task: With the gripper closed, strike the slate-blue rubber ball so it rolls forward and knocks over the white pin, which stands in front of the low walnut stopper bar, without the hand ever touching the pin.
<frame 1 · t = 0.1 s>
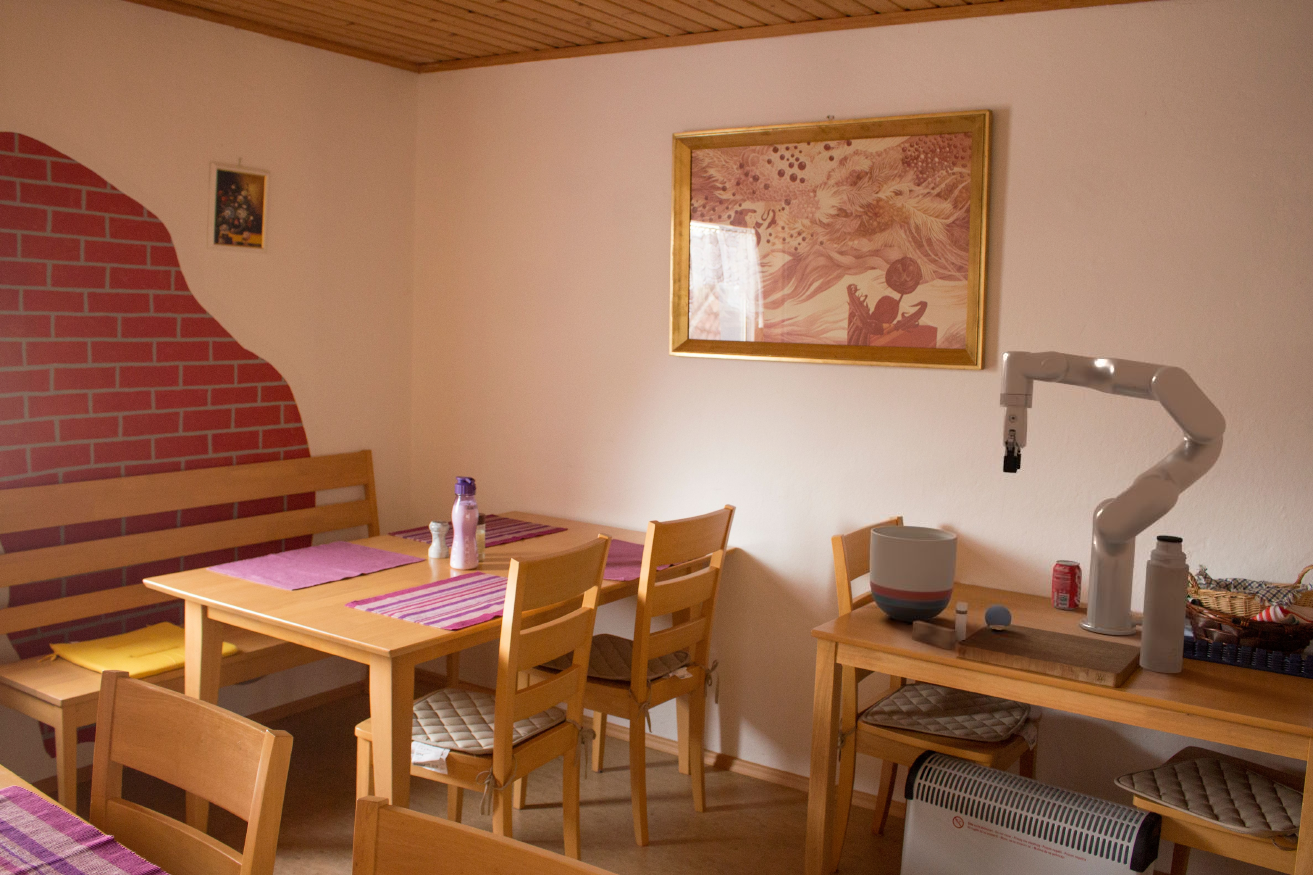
hand: (1011, 470, 252), 37 cm above the table, tool pointing down, fingers open, 9 cm apart
thermos bottle: (1160, 668, 215), on the table
ball: (998, 617, 241), on the table
stopper bar: (933, 643, 228), on the table
planter: (909, 620, 249), on the table
pin: (960, 639, 232), on the table
soda can: (1065, 608, 266), on the table
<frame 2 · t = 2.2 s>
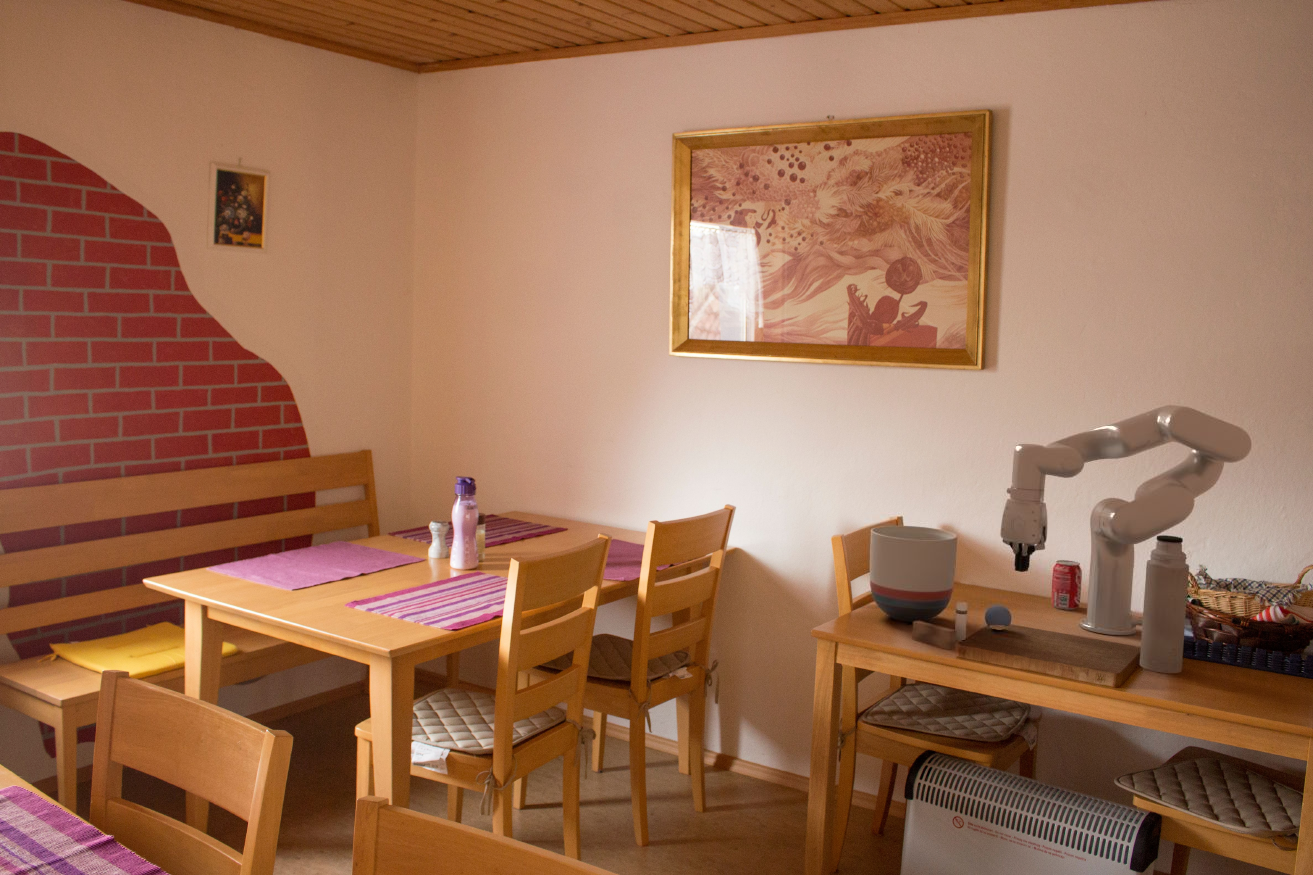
hand: (1021, 570, 246), 13 cm above the table, tool pointing down, fingers closed
nothing on the table moved.
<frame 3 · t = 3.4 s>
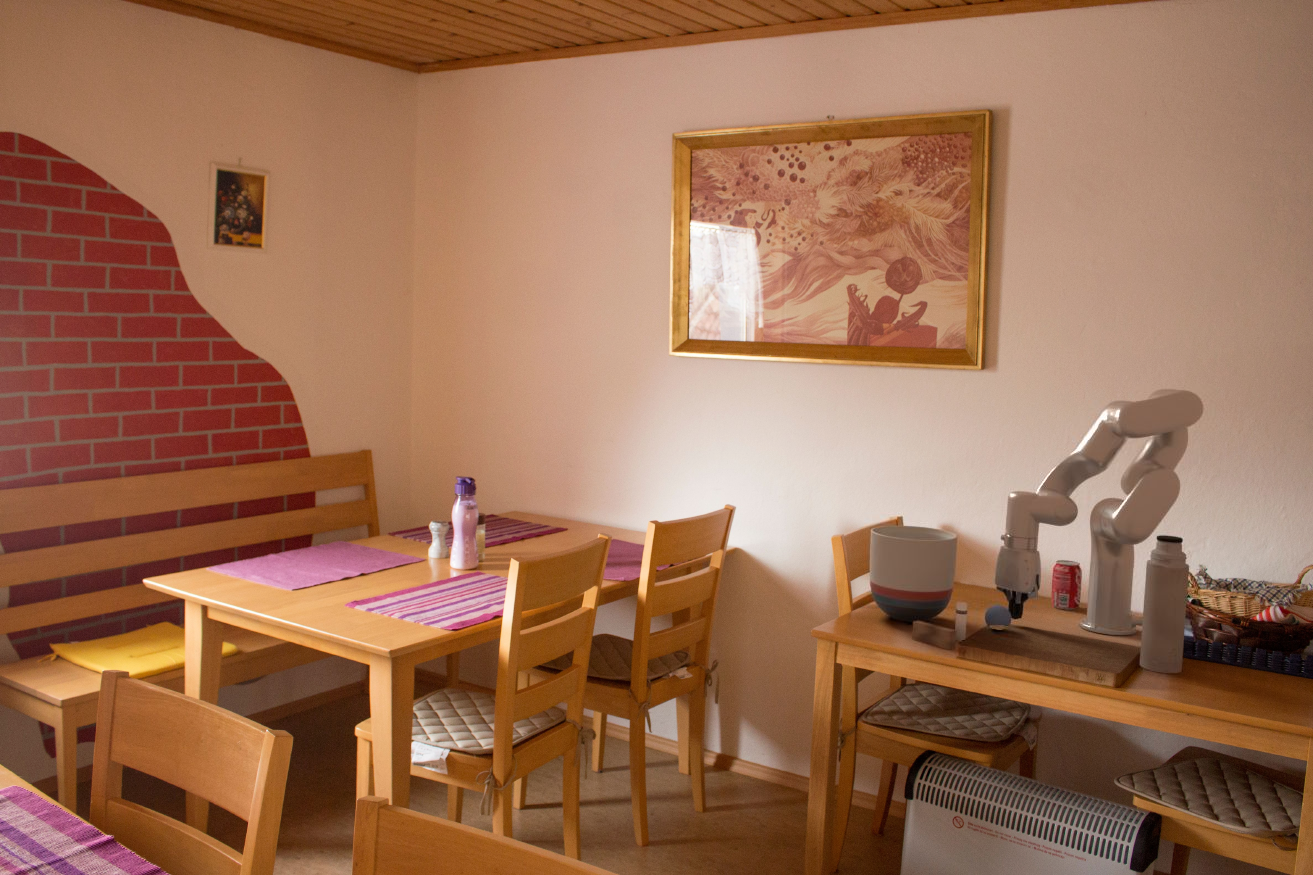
hand: (1014, 617, 247), 2 cm above the table, tool pointing down, fingers closed
nothing on the table moved.
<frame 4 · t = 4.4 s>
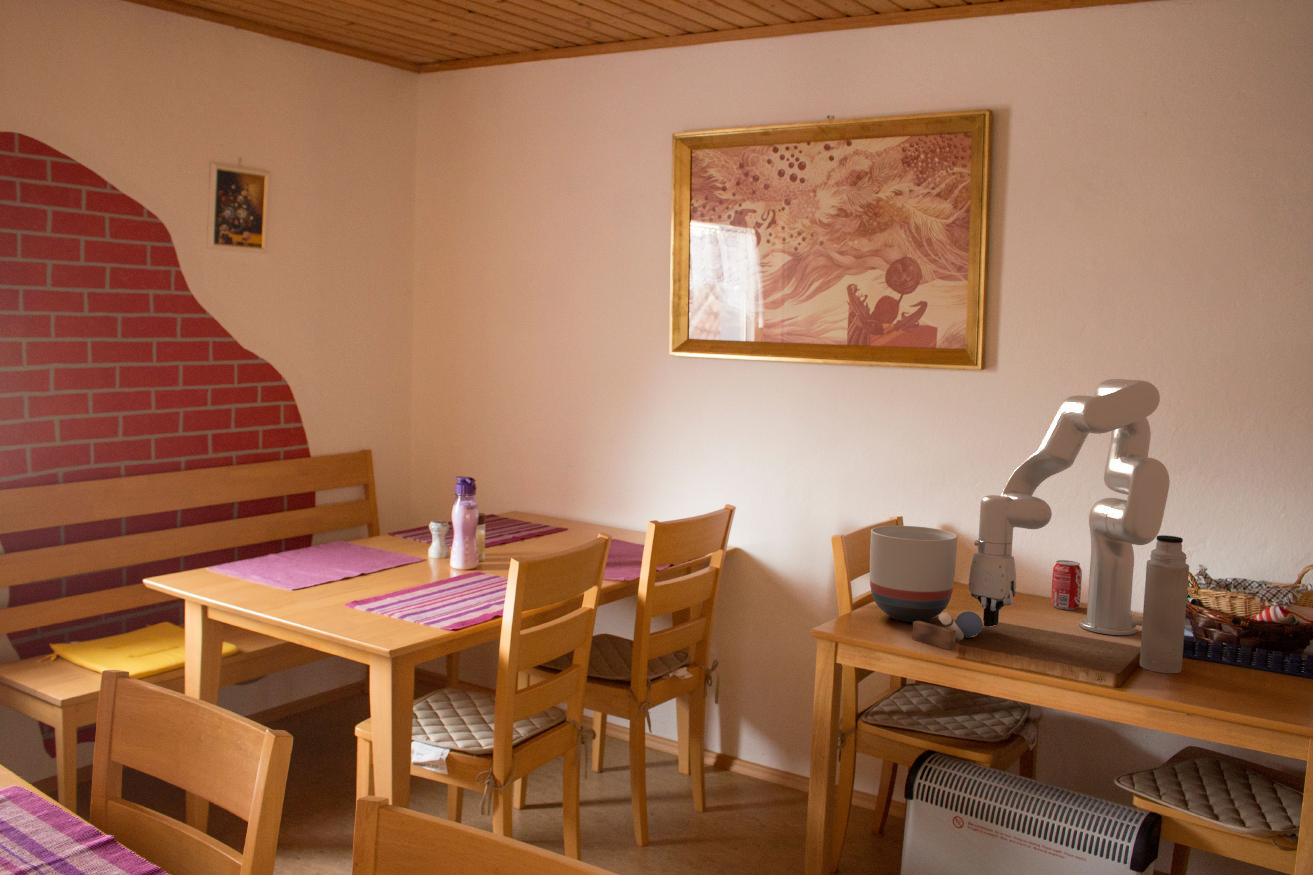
hand: (990, 625, 240), 2 cm above the table, tool pointing down, fingers closed
ball: (969, 624, 234), on the table
pin: (959, 635, 232), point 1 cm above the table, tilted 50°
everything else where it was.
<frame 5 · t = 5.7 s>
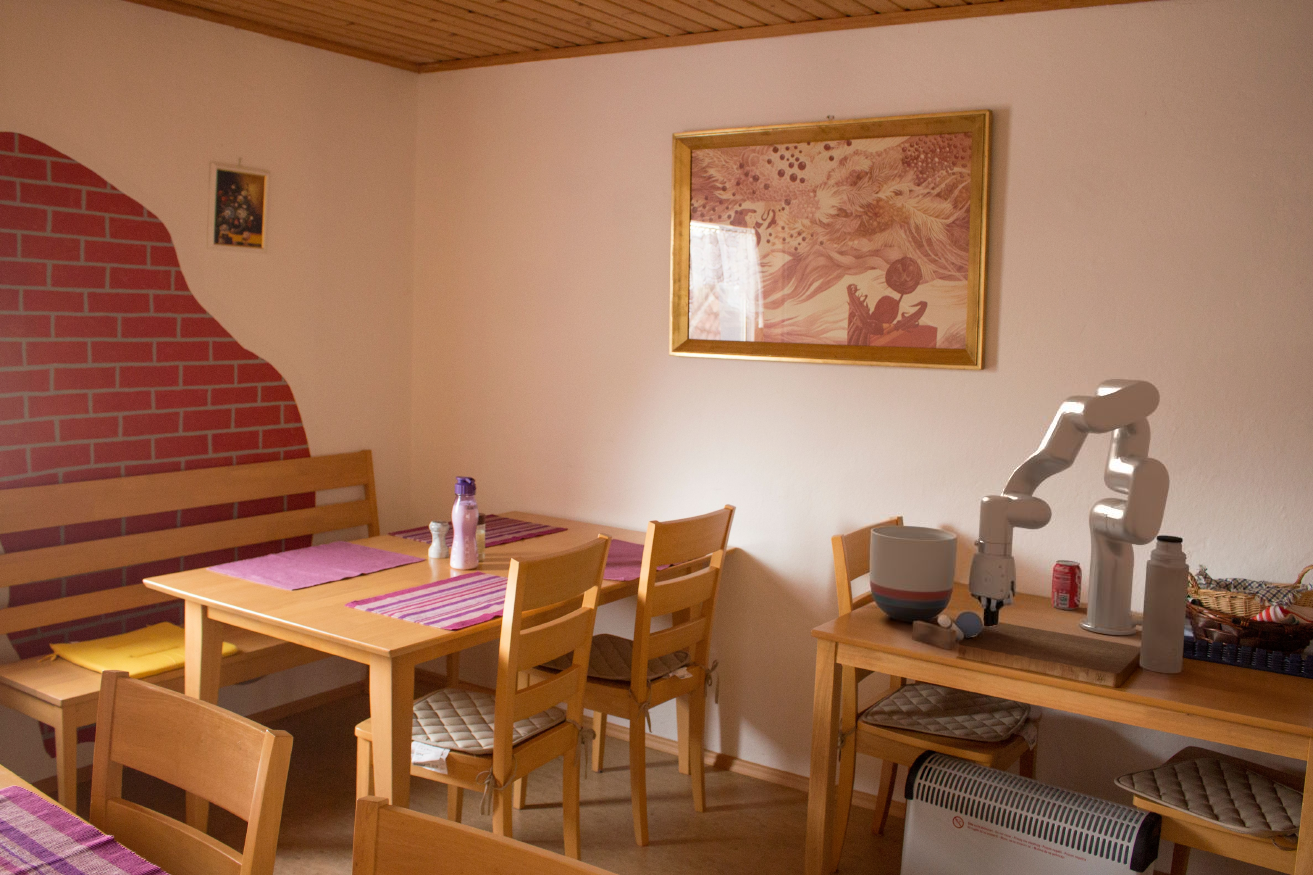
hand: (990, 625, 240), 2 cm above the table, tool pointing down, fingers closed
pin: (958, 635, 232), point 1 cm above the table, tilted 56°, touching stopper bar
everything else where it was.
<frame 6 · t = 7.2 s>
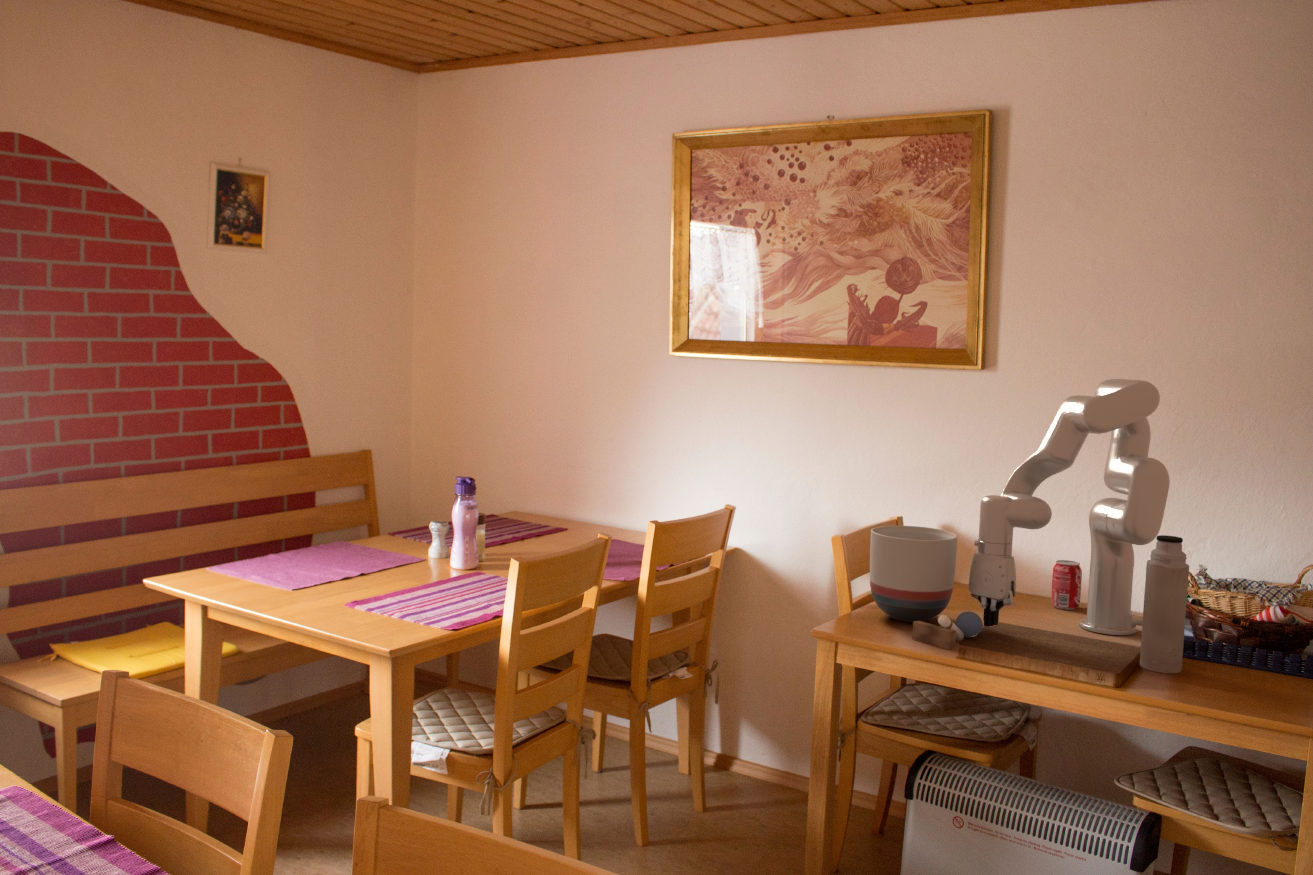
hand: (990, 625, 240), 2 cm above the table, tool pointing down, fingers closed
nothing on the table moved.
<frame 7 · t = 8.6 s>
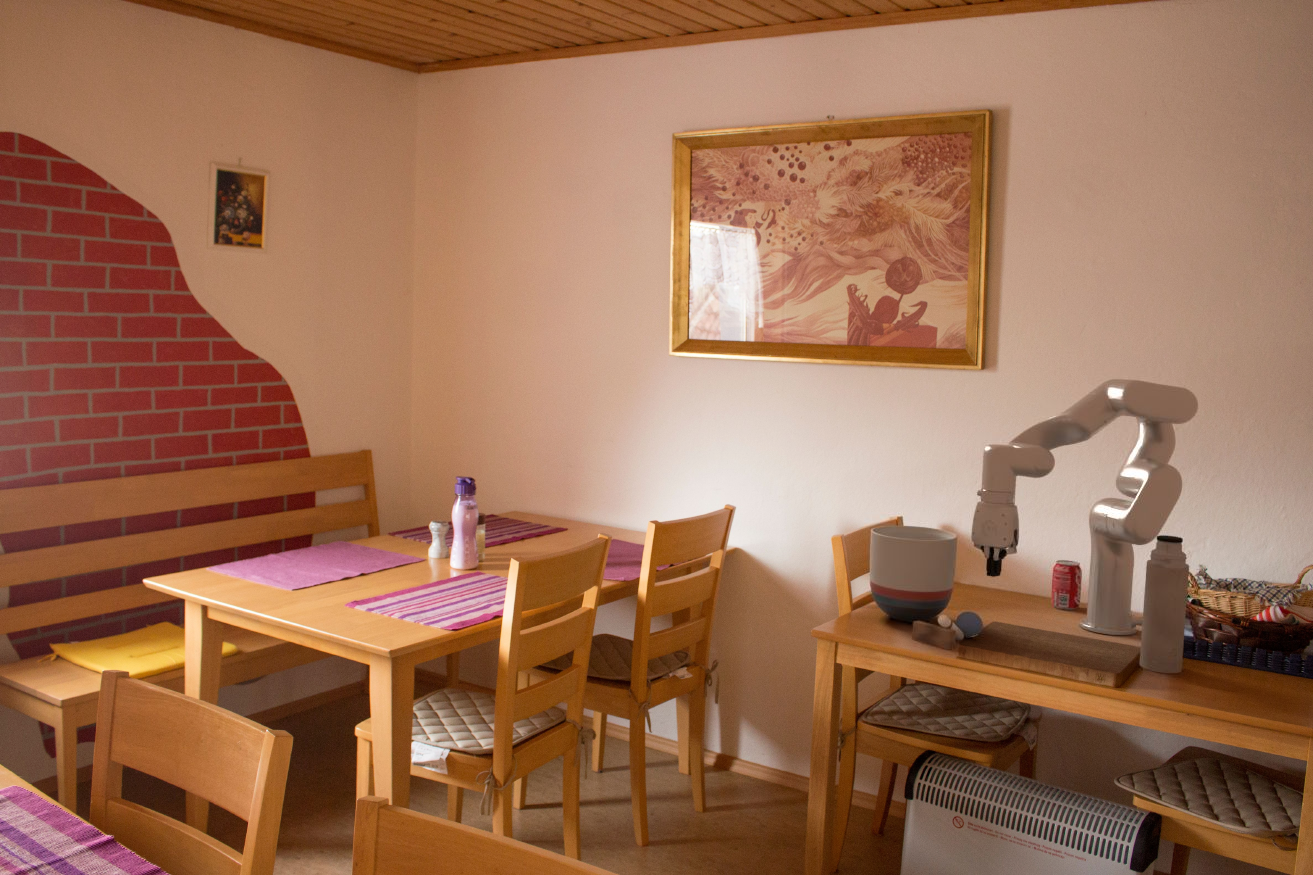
hand: (993, 575, 239), 13 cm above the table, tool pointing down, fingers closed
nothing on the table moved.
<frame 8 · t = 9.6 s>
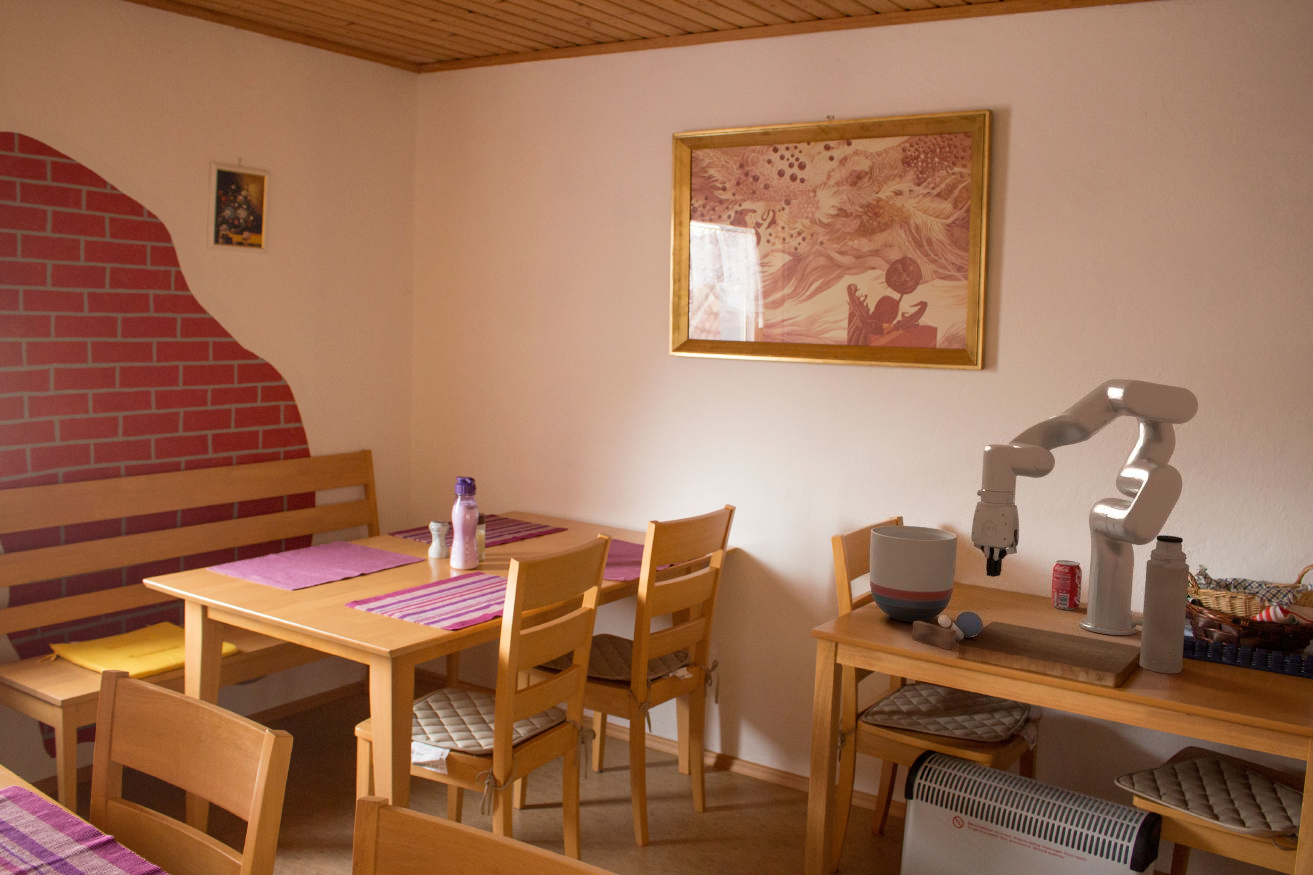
hand: (993, 575, 239), 13 cm above the table, tool pointing down, fingers closed
nothing on the table moved.
at the end: pin tilted 56°; pin never touched the robot; ball moved 11.5 cm from its start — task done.
